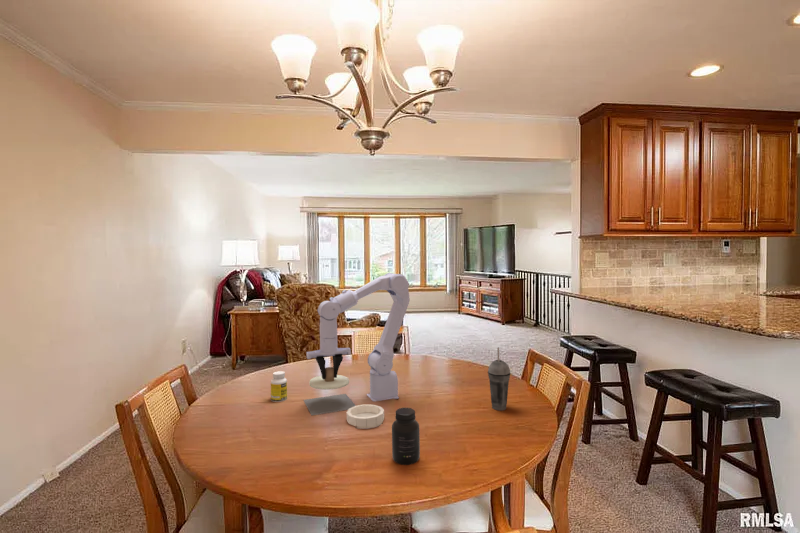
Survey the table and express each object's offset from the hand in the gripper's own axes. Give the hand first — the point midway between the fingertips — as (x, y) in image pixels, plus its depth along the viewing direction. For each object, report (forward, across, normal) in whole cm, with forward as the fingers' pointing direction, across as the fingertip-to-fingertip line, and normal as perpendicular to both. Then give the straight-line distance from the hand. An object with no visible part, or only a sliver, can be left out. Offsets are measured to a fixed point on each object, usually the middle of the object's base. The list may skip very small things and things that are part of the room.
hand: (329, 377), depth 137 cm
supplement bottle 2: (+10, -9, +43) cm, 45 cm away
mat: (+9, 0, 0) cm, 9 cm away
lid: (+2, 0, 0) cm, 2 cm away
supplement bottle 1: (+10, +15, -12) cm, 21 cm away
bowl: (+9, -7, +17) cm, 21 cm away
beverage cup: (+10, -50, +25) cm, 57 cm away
